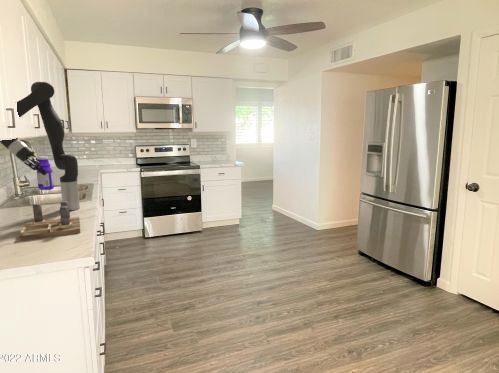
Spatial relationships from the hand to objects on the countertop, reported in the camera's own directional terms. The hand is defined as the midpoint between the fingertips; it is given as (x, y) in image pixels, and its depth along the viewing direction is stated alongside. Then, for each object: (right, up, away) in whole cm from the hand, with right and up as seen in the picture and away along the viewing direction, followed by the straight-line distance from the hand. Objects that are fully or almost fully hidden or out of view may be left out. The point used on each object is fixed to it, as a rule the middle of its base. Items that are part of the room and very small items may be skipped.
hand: (48, 173), depth 178 cm
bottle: (-2, -9, +1) cm, 9 cm away
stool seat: (+9, -28, -11) cm, 32 cm away
